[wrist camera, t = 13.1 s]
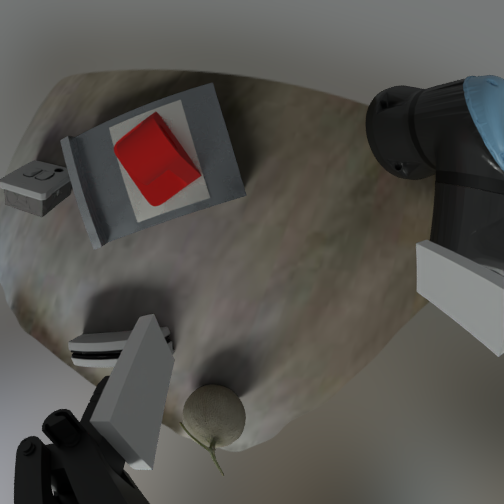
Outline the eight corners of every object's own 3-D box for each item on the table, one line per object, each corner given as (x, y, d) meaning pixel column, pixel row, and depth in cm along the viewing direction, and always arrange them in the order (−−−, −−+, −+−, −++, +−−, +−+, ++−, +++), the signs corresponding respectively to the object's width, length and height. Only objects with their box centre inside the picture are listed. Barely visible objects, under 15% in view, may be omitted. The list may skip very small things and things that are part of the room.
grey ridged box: (213, 95, 34) (212, 77, 26) (242, 191, 38) (248, 197, 30) (87, 143, 34) (60, 140, 26) (115, 234, 38) (93, 249, 30)
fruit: (200, 361, 45) (196, 429, 31) (254, 389, 48) (265, 453, 34) (170, 395, 47) (161, 458, 33) (221, 418, 50) (224, 479, 36)
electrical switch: (80, 170, 35) (45, 180, 26) (75, 204, 36) (41, 221, 28) (35, 159, 33) (-2, 167, 24) (31, 191, 34) (-5, 205, 26)
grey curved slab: (91, 357, 43) (64, 374, 33) (85, 332, 43) (56, 344, 33) (176, 351, 44) (162, 372, 34) (171, 324, 44) (154, 338, 34)
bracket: (117, 148, 29) (78, 142, 19) (159, 114, 28) (135, 93, 19) (157, 207, 31) (132, 224, 22) (202, 175, 31) (194, 177, 21)
